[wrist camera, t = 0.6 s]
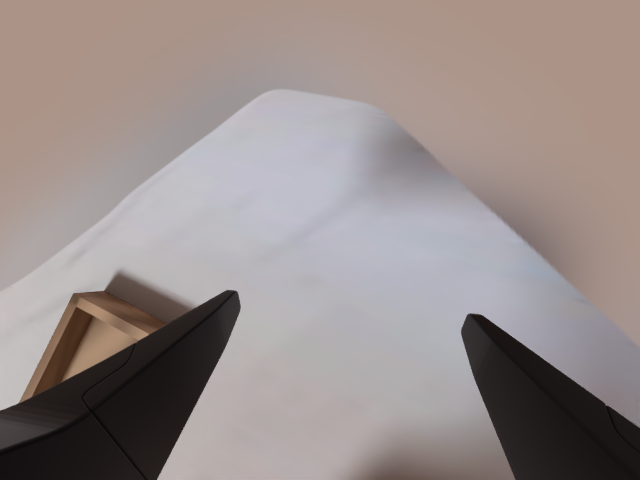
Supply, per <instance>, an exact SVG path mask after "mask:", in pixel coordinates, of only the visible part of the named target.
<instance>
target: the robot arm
mask: <svg viewBox="0 0 640 480" xmlns="http://www.w3.org/2000/svg"><path fill="white" fill-rule="evenodd" d="M240 308H241V306H240V300H239V295H238V292H237V291H234V290H226V291H224V292H223V293H221V294H219V295H217V296H216V297H214V298H212V299H210V300H209V301H207V302H205V303H203V304H202V305H200V306H198V307H196V308H195V309H193V310H191V311H189V312H188V313H186V314H184V315H182V316H181V317H179V318H177V319H175V320H174V321H172V322H170V323H168V324H167V325H165V326H163V327H161V328H160V329H158V330H156V331H154V332H153V333H151V334H149V335H147V336H146V337H144V338H142V339H140V340H139V341H137V343H133V344H132V345H130V346H128V347H126V348H125V349H123V350H121V351H119V352H118V353H116V354H114V355H112V356H110V357H108V358H107V359H105V360H103V361H101V362H99V363H97V364H95V365H93V366H92V367H90V368H88V369H86V370H84V371H82V372H80V373H78V374H76V375H74V376H72V377H70V378H68V379H66V380H64V381H62V382H60V383H58V384H56V385H54V386H52V387H50V388H48V389H46V390H44V391H42V392H41V393H39V394H37V395H35V396H33V397H31V398H29V399H27V400H25V401H23V402H20V403H18V404H16V405H14V406H11V407H9V408H6V409H4V410H1V411H0V480H157V478H158V476H159V475H160V473H161V471H162V469H163V467H164V465H165V463H166V461H167V459H168V457H169V455H170V453H171V451H172V449H173V448H174V446H175V444H176V442H177V440H178V438H179V436H180V434H181V432H182V430H183V428H184V426H185V424H186V422H187V421H188V419H189V417H190V415H191V413H192V411H193V409H194V407H195V405H196V403H197V401H198V399H199V397H200V395H201V394H202V392H203V390H204V388H205V386H206V384H207V382H208V380H209V378H210V376H211V374H212V372H213V370H214V368H215V367H216V365H217V363H218V361H219V359H220V357H221V355H222V353H223V351H224V349H225V347H226V345H227V343H228V340H229V338H230V335H231V333H232V330H233V327H234V325H235V322H236V320H237V317H238V315H239V312H240ZM461 335H462V339H463V342H464V346H465V349H466V352H467V356H468V359H469V363H470V366H471V369H472V373H473V376H474V379H475V381H476V384H477V386H478V389H479V391H480V394H481V396H482V399H483V401H484V403H485V406H486V408H487V411H488V413H489V416H490V418H491V421H492V423H493V426H494V428H495V430H496V433H497V435H498V438H499V440H500V443H501V445H502V448H503V450H504V452H505V455H506V457H507V460H508V462H509V465H510V467H511V470H512V472H513V475H514V477H515V479H516V480H640V428H639V427H637V426H636V425H635V424H633V423H632V422H630V421H629V420H627V419H626V418H625V417H623V416H622V415H621V414H619V413H618V412H616V411H615V410H614V409H612V408H611V407H609V406H606V405H605V403H604V402H602V401H601V400H600V399H598V398H597V397H595V396H594V395H593V394H591V393H590V392H588V391H587V390H586V389H584V388H583V387H581V386H580V385H579V384H577V383H576V382H574V381H573V380H572V379H570V378H569V377H568V376H566V375H565V374H563V373H562V372H561V371H559V370H558V369H556V368H555V367H554V366H552V365H551V364H549V363H548V362H547V361H545V360H544V359H542V358H541V357H540V356H538V355H537V354H535V353H534V352H533V351H531V350H530V349H529V348H527V347H526V346H524V345H523V344H522V343H520V342H519V341H517V340H516V339H515V338H513V337H512V336H510V335H509V334H508V333H506V332H505V331H503V330H502V329H501V328H499V327H498V326H496V325H495V324H494V323H492V322H491V321H490V320H488V319H487V318H485V317H484V316H482V315H480V314H468V315H467V317H466V319H465V322H464V324H463V327H462V330H461Z"/></svg>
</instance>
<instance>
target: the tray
mask: <svg viewBox="0 0 640 480" xmlns="http://www.w3.org/2000/svg"><path fill="white" fill-rule="evenodd" d="M165 325H167V324H166V323H165V322H163V321H161V320H159V319H157V318H155V317H153V316H151V315H149V314H147V313H145V312H143V311H141V310H139V309H138V308H136V307H134V306H132V305H130V304H128V303H126V302H124V301H122V300H120V299H118V298H116V297H114V296H112V295H110V294H109V293H107V292H105V291H97V292H85V293H73V295H72V297H71V299H70V301H69V303H68V305H67V307H66V309H65V311H64V313H63V315H62V317H61V320H60V322H59V324H58V326H57V328H56V330H55V332H54V334H53V336H52V338H51V340H50V342H49V344H48V346H47V348H46V350H45V352H44V354H43V356H42V358H41V360H40V362H39V364H38V366H37V368H36V370H35V372H34V374H33V376H32V378H31V380H30V382H29V384H28V386H27V388H26V390H25V392H24V394H23V396H22V398H21V400H20V402H23V401H25V400H27V399H29V398H31V397H33V396H35V395H37V394H39V393H41V392H42V391H44V390H46V389H48V388H50V387H52V386H54V385H56V384H58V383H60V382H62V381H64V380H66V379H68V378H70V377H72V376H74V375H76V374H78V373H80V372H82V371H84V370H86V369H88V368H90V367H92V366H93V365H95V364H97V363H99V362H101V361H103V360H105V359H107V358H108V357H110V356H112V355H114V354H116V353H118V352H119V351H121V350H123V349H125V348H126V347H128V346H130V345H132V344H133V343H137V341H139V340H140V339H142V338H144V337H146V336H147V335H149V334H151V333H153V332H154V331H156V330H158V329H160V328H161V327H163V326H165ZM20 402H19V403H20Z"/></svg>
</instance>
